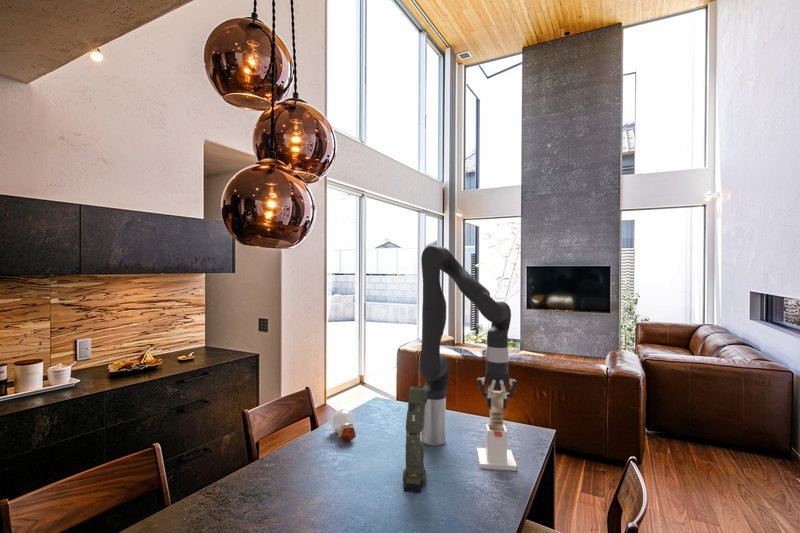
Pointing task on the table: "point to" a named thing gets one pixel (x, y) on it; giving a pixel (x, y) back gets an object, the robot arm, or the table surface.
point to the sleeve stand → (496, 451)
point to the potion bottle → (344, 425)
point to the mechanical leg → (415, 441)
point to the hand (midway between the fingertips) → (496, 408)
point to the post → (496, 411)
